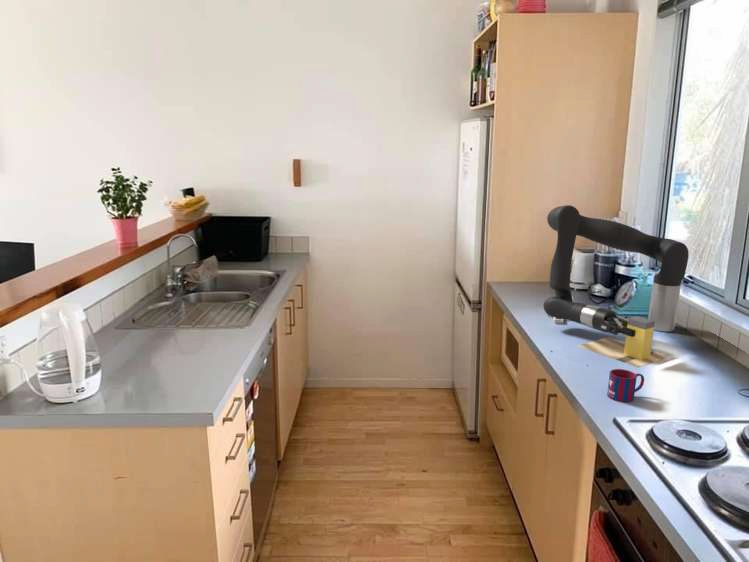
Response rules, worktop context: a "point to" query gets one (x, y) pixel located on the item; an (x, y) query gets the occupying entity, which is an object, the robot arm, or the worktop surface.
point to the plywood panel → (619, 351)
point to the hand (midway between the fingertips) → (642, 331)
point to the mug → (623, 385)
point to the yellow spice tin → (639, 338)
